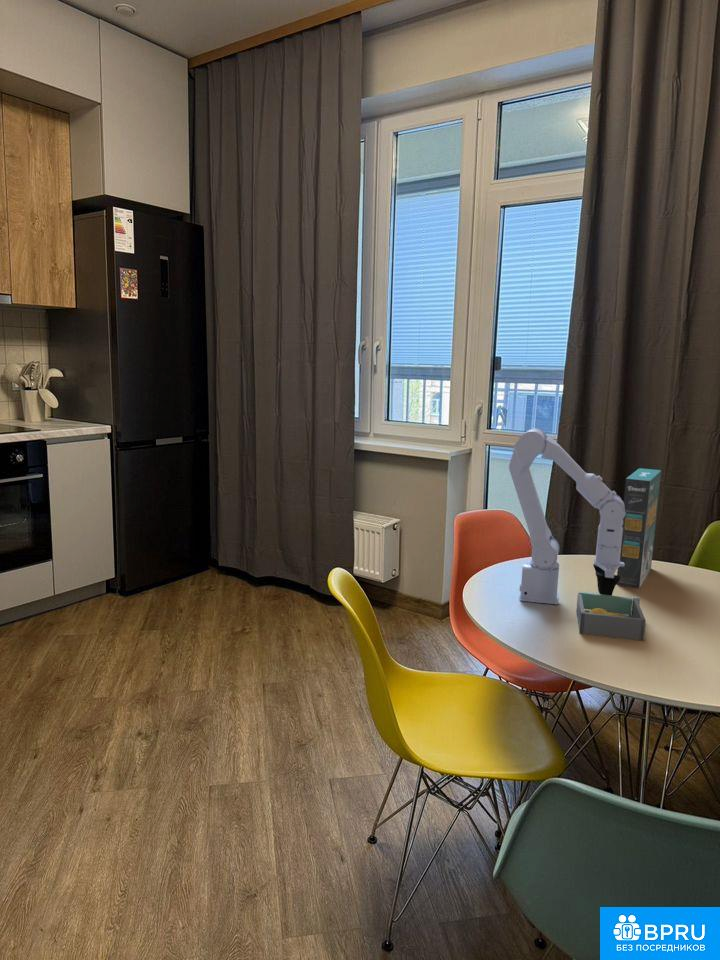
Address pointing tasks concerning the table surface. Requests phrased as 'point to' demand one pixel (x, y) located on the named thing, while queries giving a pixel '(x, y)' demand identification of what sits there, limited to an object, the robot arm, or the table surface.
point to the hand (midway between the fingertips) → (603, 596)
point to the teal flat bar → (608, 602)
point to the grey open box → (611, 623)
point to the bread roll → (602, 612)
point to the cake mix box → (638, 526)
